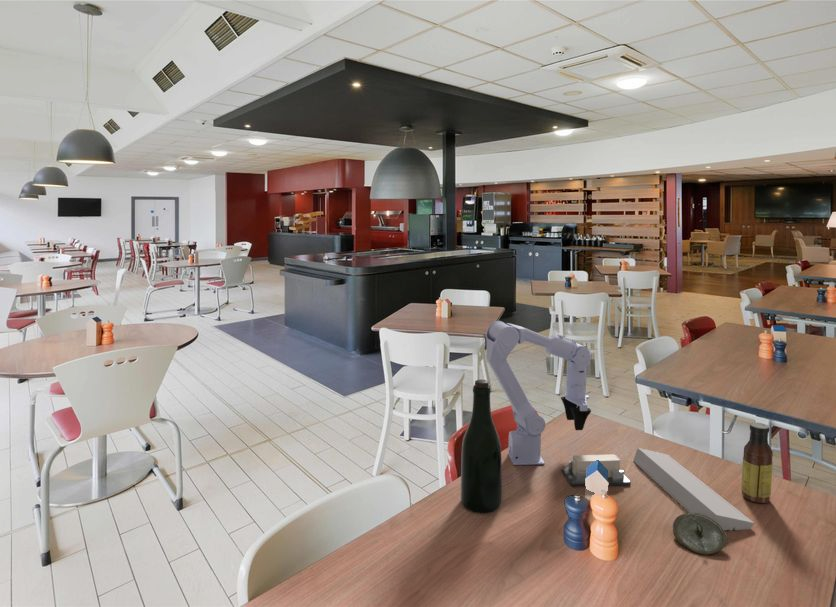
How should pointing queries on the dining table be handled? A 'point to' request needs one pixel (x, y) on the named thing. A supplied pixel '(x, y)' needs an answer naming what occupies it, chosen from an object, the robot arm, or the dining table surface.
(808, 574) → the dining table surface
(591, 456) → the cream rectangular block
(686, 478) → the long grey wedge ramp
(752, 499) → the sauce bottle
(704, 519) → the lid
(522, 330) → the robot arm
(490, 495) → the dark green wine bottle
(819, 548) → the dining table surface
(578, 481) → the rack
